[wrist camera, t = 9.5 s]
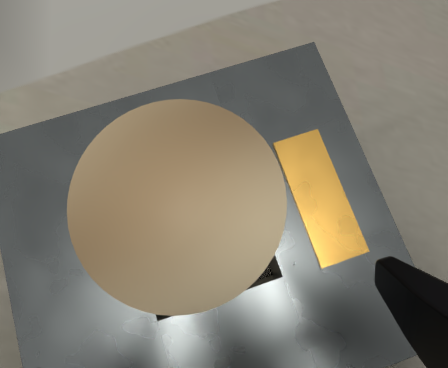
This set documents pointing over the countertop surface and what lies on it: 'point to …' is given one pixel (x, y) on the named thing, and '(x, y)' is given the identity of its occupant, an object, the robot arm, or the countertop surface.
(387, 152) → the countertop surface
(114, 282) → the barrel peg
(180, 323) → the grey peg hole board
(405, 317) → the robot arm
